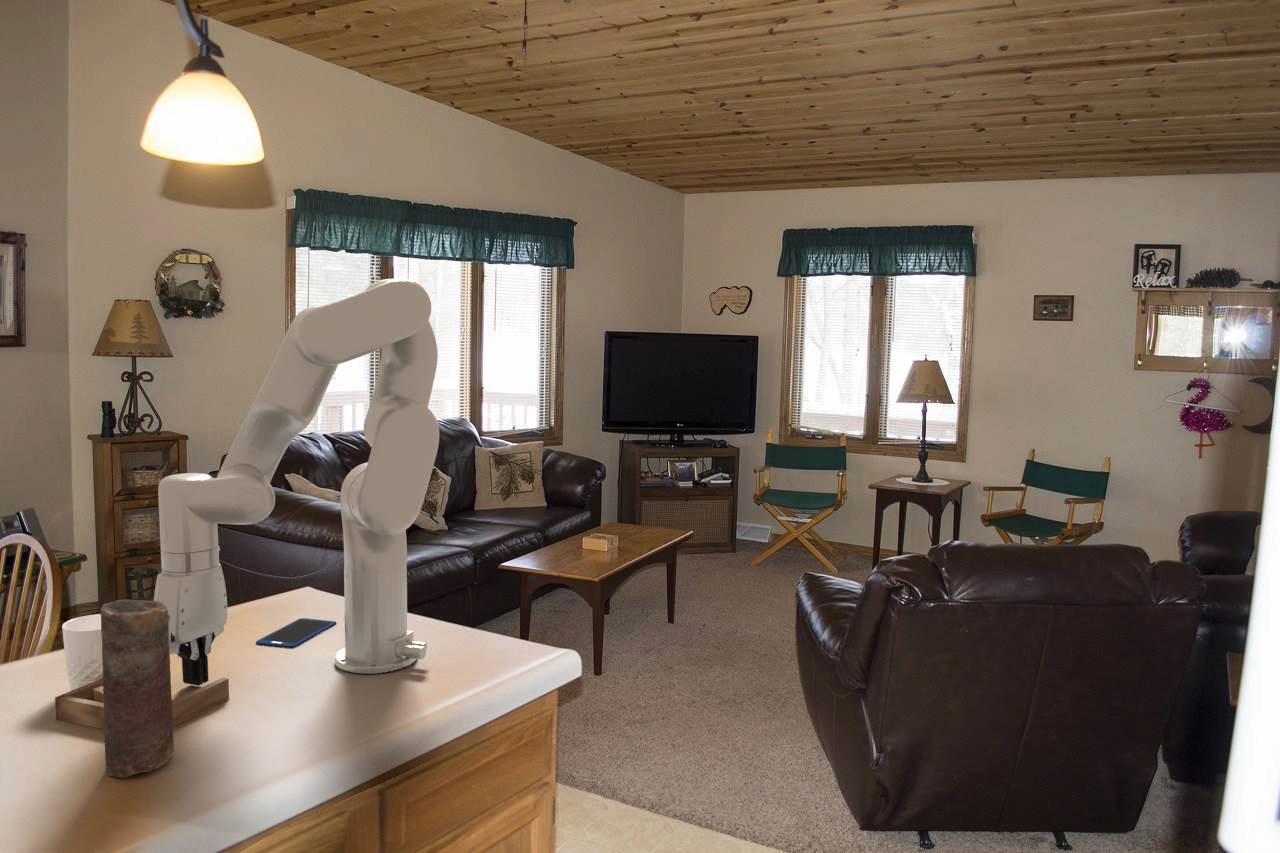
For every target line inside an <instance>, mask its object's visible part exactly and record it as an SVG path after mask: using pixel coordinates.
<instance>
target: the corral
mask: <svg viewBox="0 0 1280 853" xmlns="http://www.w3.org/2000/svg"><path fill="white" fill-rule="evenodd" d="M229 681H230V680H229V678H227V677H221V678H219V679H217V680H215V681H213V682H210V683H208V684H206V685H203V686H201V687H199V688H197V689H196V690H193V691H191V692H189V693H187V694H185V695H182V696H180V697H177V698H176V699H172V712H173V728H174V727H175V726H177V725H180V724H181V723H184V722H185V721H187V720H190V719H191V718H194V717H196V716H197V715H200V714H201V713H204V712H206V711H208V710H210V709H212V708H214V707H216V706H218V705H220V704H222V703H224V702H227V701H228V700H229V699H230V683H229ZM101 686H103V678H102V679H100V680H97V681H95V682H92V683H90V684H87V685H85V686H82V687H80V688H77V689H75V690H72V691H70V690H69V691H67V692H66V693H65V692H64V693H62V694H61V695H57V696H55V697H54V702H55V719H56V720H58V719H59V721H64V722H69V723H72V724H73V723H74V724H77V725H84V726H88V727H90V728H91V727H92V728H97V729H102V730H104V703H101V702H96V701H94V697H93V689H94V688H98V687H101Z"/></svg>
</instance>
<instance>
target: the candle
mask: <svg viewBox="0 0 1280 853" xmlns="http://www.w3.org/2000/svg"><path fill="white" fill-rule="evenodd" d="M100 614H101V635H102V665H103V701H104V729H103V730H104V735H103V737H104V758H105V759H104V761H105V774H106V775H107V776H110V777H112V778H113V777H117V778H129V777H131V776H133V775H137V774H141V773H145V772H146V773H147V772H148V773H151V772H152V771H154V770H156V769H159V768H160V767H162V765H163V764H165V763H167V762H168V761H169V760H170V758H171V756H172V755H173V754H174V751H175V749H174V748H175V747H174V740H175V739H174V727H173V712H172V701H173V698H172V697H173V696H172V677H171V676H172V675H171V656H170V655H171V654H170V650H169V622H168V608H167V607H166V606H165V605H164V603H161V602H160V601H154V600H146V599H145V600H141V599H137V600H136V599H118V600H115V601H114V600H113V601H110V602H107V603H103V604H102V606H101V608H100Z"/></svg>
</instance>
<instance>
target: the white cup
mask: <svg viewBox="0 0 1280 853" xmlns="http://www.w3.org/2000/svg"><path fill="white" fill-rule="evenodd" d="M61 627H62V629H61V630H62V638H63V639H62V640H63V647H64V648H63V649H64V656H65V664H66V674H67V676H68V688H69V692H70V691H72V690H75V689H77V688H80V687H82V686H85V685H87V684H90V683H92V682H95V681H97V680H100V679H102V678H103V665H102V635H101V613H97V614H88V615H84V616H83V615H82V616H78V617H75V618H72V619H70V620H67V621H66V622H63V624H62V625H61Z"/></svg>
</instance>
